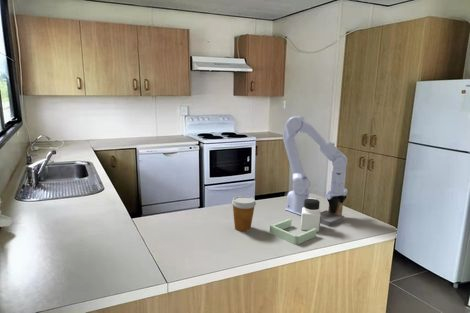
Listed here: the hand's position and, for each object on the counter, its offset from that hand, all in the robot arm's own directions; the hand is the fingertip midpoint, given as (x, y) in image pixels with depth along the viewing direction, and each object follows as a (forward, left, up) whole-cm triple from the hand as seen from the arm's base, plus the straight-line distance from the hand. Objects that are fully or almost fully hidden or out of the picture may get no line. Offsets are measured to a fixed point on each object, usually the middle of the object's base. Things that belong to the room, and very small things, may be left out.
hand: (335, 211), depth 143 cm
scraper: (0, -5, -3) cm, 6 cm away
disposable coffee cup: (-16, -41, -3) cm, 44 cm away
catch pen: (0, -29, -3) cm, 29 cm away
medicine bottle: (0, -18, -3) cm, 19 cm away
